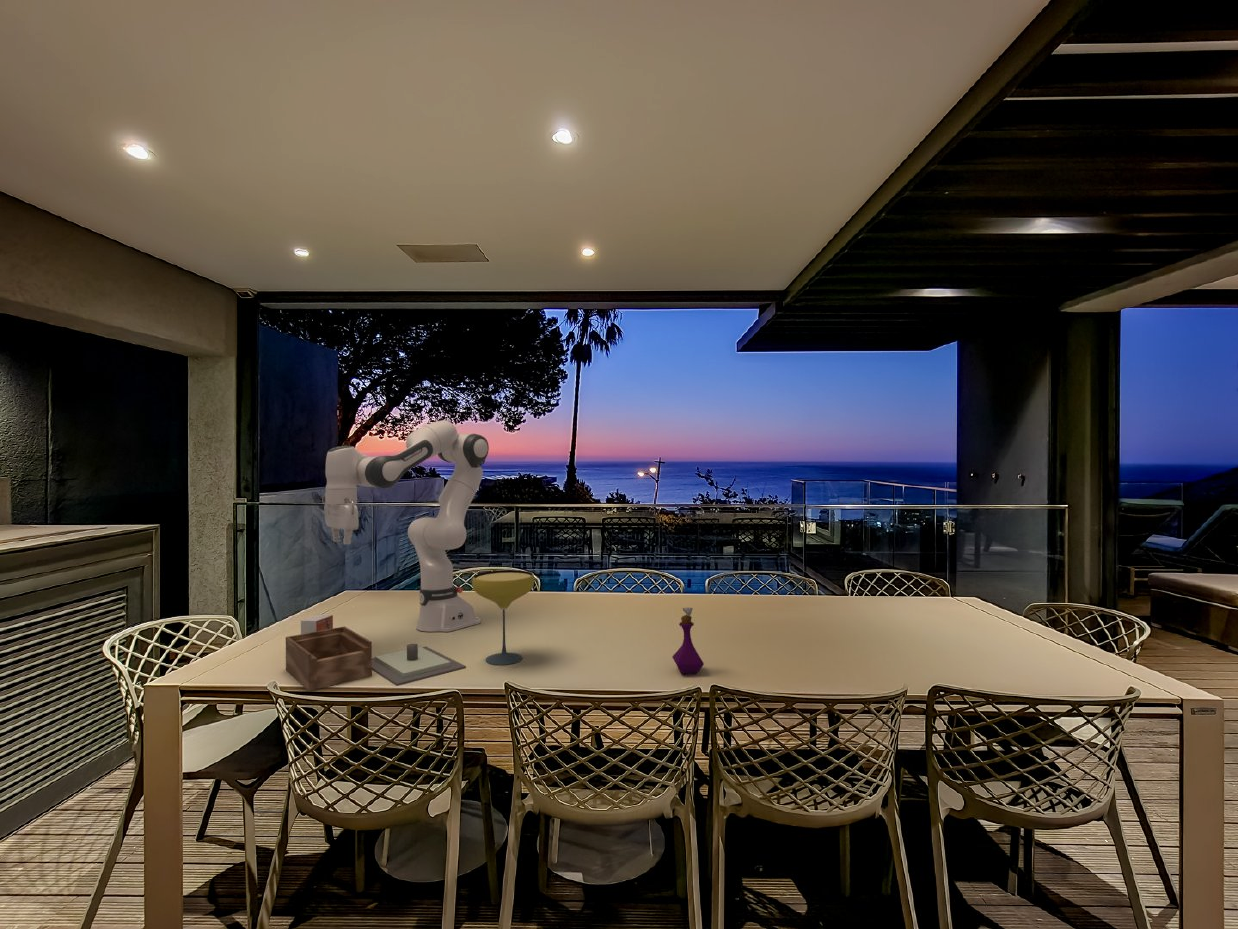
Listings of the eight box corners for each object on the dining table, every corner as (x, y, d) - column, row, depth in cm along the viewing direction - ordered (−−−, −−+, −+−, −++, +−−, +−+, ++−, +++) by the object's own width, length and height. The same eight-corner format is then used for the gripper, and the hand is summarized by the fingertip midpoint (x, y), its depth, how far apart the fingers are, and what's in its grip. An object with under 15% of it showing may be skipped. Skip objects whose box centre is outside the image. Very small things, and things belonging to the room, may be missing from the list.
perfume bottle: (672, 668, 170) (671, 604, 170) (698, 667, 170) (697, 603, 170) (676, 677, 162) (676, 610, 162) (704, 676, 163) (703, 609, 163)
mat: (425, 647, 190) (425, 646, 190) (465, 667, 171) (465, 666, 171) (361, 662, 177) (361, 660, 177) (396, 685, 158) (396, 683, 158)
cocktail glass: (485, 674, 166) (484, 583, 166) (464, 656, 181) (464, 573, 181) (544, 662, 176) (544, 576, 176) (520, 646, 191) (520, 568, 191)
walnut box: (344, 657, 181) (344, 626, 181) (371, 676, 165) (371, 641, 165) (285, 670, 171) (285, 637, 171) (308, 691, 154) (308, 654, 154)
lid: (420, 650, 186) (420, 633, 186) (450, 666, 171) (450, 647, 171) (375, 660, 177) (375, 643, 177) (403, 678, 162) (403, 658, 162)
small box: (316, 655, 184) (316, 621, 184) (300, 654, 185) (300, 620, 185) (333, 647, 192) (333, 614, 192) (318, 646, 193) (318, 614, 193)
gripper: (364, 498, 180) (364, 545, 180) (341, 496, 195) (341, 539, 195) (342, 499, 176) (342, 547, 176) (320, 497, 191) (320, 541, 191)
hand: (341, 542), depth 186 cm, fingers open, 8 cm apart
